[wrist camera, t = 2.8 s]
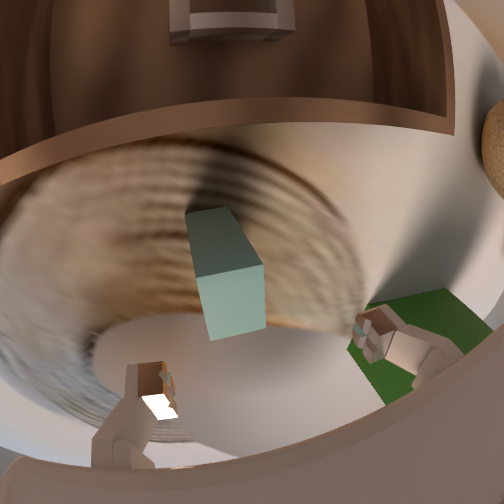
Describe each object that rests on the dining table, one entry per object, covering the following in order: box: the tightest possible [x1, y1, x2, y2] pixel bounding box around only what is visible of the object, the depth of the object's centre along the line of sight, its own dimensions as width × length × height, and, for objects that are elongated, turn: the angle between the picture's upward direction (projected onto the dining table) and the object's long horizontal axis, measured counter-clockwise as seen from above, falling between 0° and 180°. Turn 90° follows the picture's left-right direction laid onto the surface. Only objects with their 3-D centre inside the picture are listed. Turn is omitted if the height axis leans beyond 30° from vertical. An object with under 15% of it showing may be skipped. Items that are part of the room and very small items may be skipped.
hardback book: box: [347, 288, 493, 405], centre depth 23 cm, size 18×7×24 cm, turn 83°
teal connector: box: [185, 206, 266, 341], centre depth 16 cm, size 3×4×8 cm
